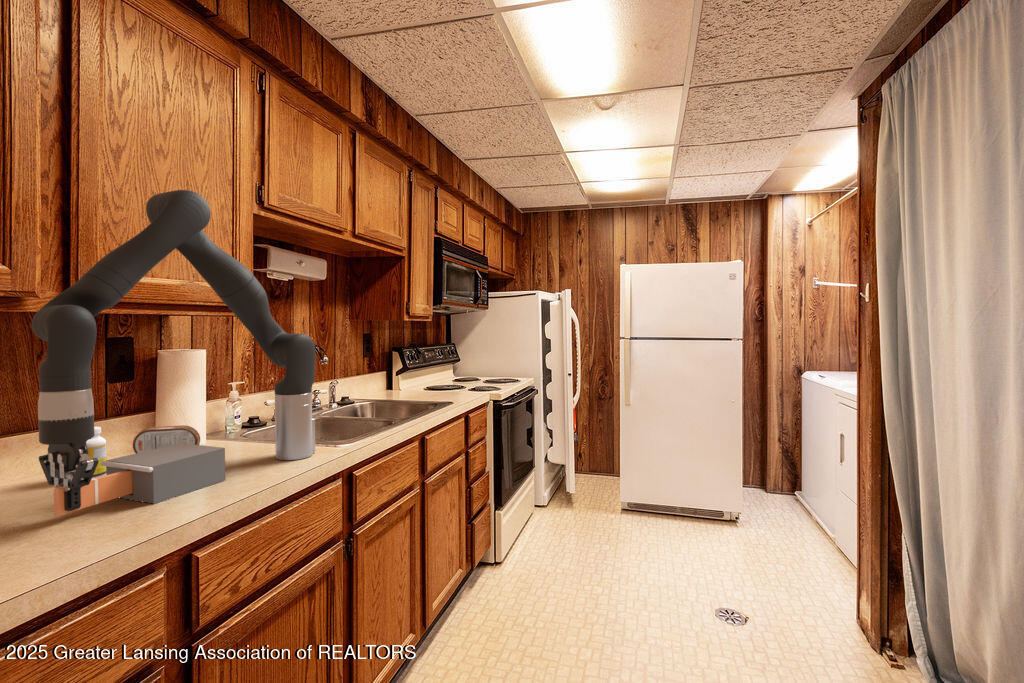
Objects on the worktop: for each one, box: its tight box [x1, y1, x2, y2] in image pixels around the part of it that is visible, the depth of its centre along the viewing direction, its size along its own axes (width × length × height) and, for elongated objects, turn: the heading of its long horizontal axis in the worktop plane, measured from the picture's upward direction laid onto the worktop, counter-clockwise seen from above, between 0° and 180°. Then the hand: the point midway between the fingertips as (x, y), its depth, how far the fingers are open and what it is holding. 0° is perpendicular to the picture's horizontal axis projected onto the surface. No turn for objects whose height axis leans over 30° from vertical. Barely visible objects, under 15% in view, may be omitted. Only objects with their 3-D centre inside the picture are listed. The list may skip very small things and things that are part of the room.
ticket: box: [53, 470, 133, 516], centre depth 97 cm, size 18×1×5 cm, turn 160°
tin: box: [132, 424, 201, 454], centre depth 133 cm, size 15×3×8 cm, turn 111°
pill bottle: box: [83, 426, 108, 479], centre depth 115 cm, size 6×6×12 cm
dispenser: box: [101, 443, 226, 504], centre depth 107 cm, size 17×14×8 cm
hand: (69, 508), depth 90 cm, fingers closed
